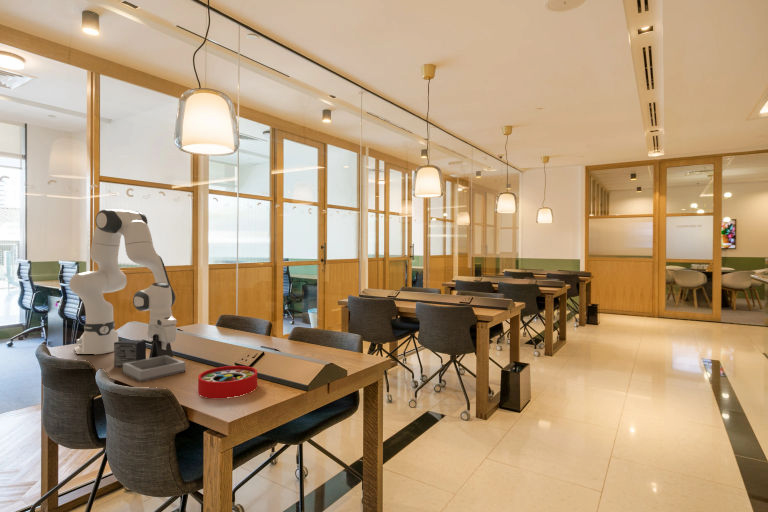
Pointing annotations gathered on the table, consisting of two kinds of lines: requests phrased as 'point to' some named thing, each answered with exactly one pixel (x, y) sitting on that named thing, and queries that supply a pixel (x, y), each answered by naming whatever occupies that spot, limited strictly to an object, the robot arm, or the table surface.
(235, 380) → the toy clock
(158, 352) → the door stopper
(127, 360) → the small box
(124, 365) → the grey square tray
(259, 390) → the table surface
